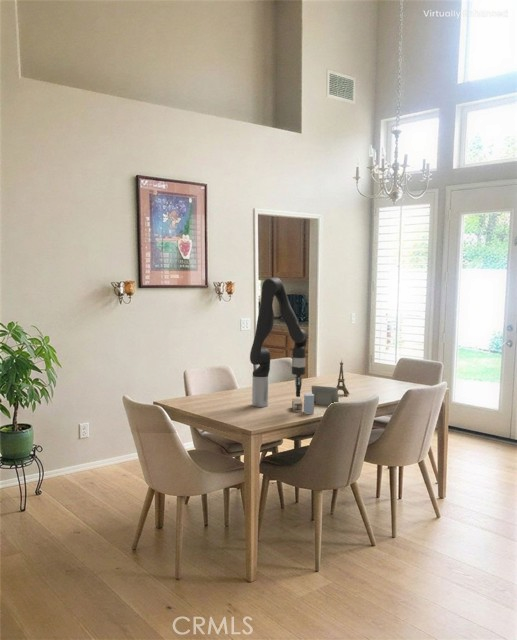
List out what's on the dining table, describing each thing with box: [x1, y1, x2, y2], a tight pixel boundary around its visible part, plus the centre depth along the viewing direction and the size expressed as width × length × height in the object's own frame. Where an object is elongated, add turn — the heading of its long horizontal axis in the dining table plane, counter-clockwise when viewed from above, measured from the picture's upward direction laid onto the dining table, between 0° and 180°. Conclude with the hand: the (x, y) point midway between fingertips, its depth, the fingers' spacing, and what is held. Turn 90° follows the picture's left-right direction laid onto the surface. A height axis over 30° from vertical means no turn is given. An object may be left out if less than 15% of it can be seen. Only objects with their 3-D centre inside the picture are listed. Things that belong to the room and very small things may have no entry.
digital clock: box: [311, 385, 340, 406], centre depth 329 cm, size 16×9×11 cm, turn 56°
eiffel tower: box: [335, 359, 351, 398], centre depth 357 cm, size 11×11×25 cm
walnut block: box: [291, 398, 303, 412], centre depth 313 cm, size 5×5×10 cm
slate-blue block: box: [303, 393, 315, 415], centre depth 305 cm, size 5×5×10 cm
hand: (298, 396), depth 307 cm, fingers closed
